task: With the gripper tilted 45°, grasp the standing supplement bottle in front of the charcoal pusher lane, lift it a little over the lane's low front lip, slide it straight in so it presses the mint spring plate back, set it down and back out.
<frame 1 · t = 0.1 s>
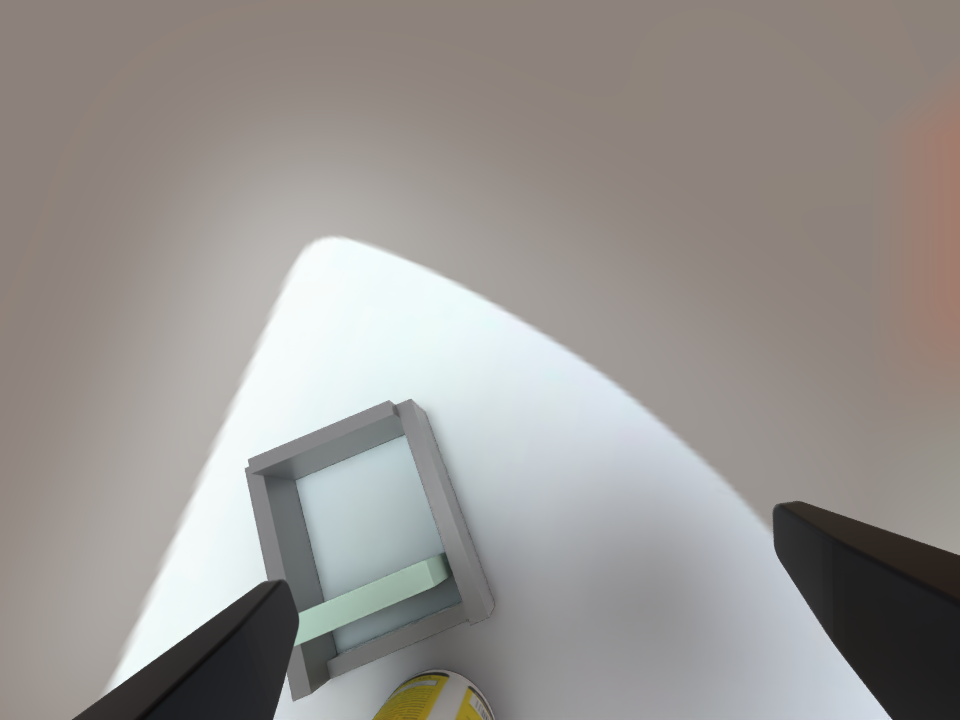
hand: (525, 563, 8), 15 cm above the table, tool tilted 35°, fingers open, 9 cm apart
pusher lane: (378, 534, 23), on the table
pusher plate: (374, 595, 20), point 3 cm above the table, slide at 0.0 cm
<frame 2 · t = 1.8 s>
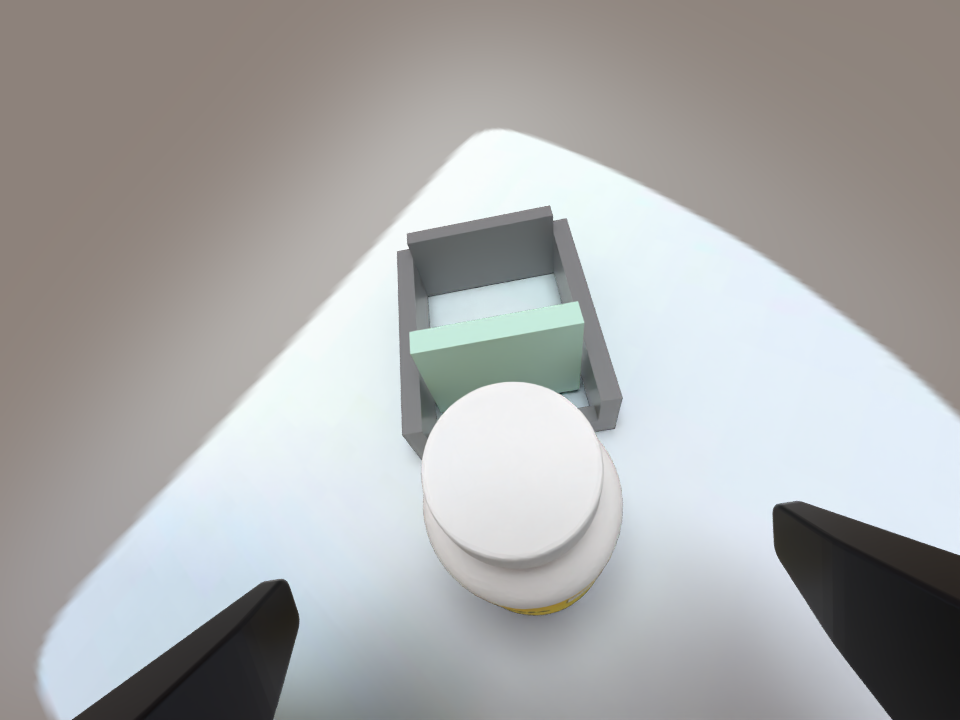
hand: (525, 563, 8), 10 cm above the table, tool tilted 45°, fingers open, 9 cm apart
pusher lane: (501, 350, 23), on the table
supplement bottle: (532, 540, 18), on the table
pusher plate: (501, 363, 19), point 3 cm above the table, slide at 0.0 cm
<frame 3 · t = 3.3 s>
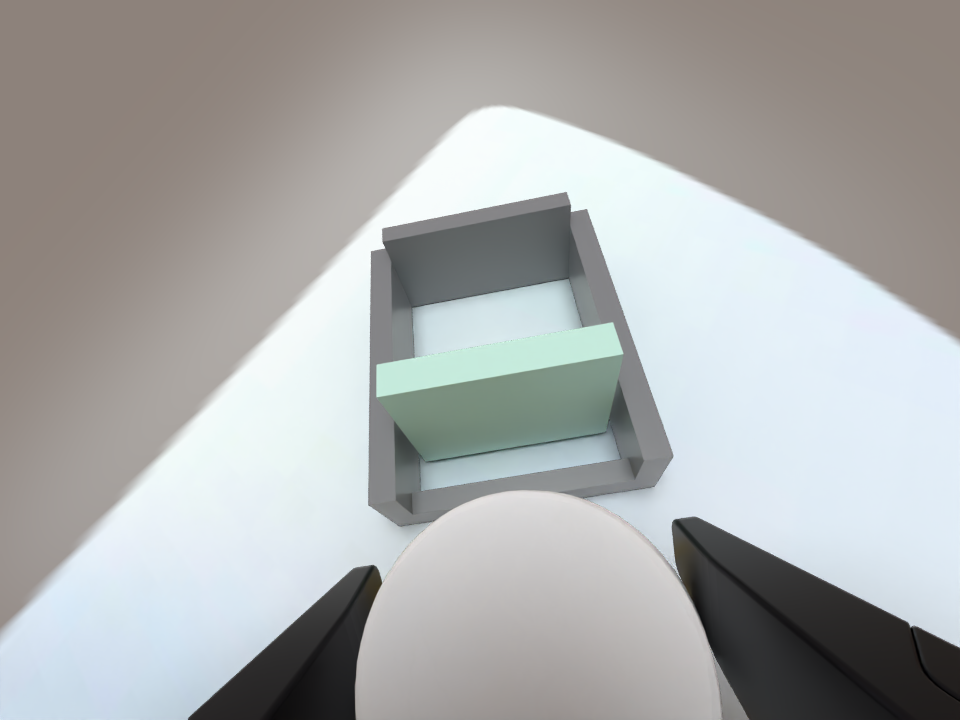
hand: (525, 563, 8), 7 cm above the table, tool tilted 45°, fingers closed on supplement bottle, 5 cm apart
pusher lane: (503, 377, 18), on the table
supplement bottle: (547, 646, 14), on the table, touching gripper
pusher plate: (505, 402, 14), point 3 cm above the table, slide at 0.0 cm
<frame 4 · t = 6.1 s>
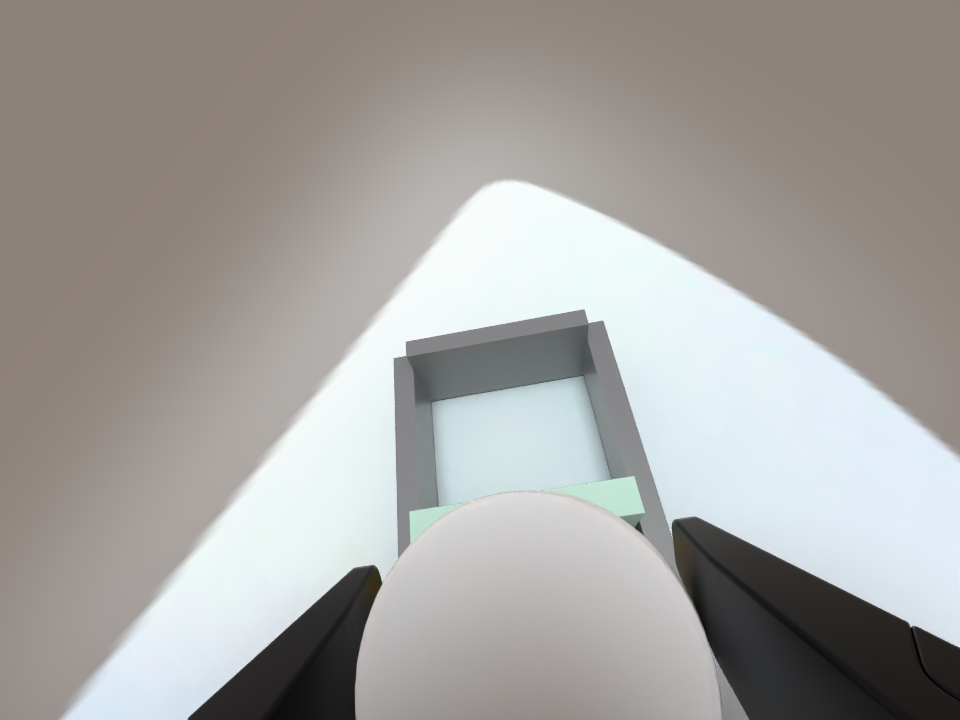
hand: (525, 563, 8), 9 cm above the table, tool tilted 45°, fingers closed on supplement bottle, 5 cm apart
pusher lane: (522, 481, 19), on the table
supplement bottle: (547, 646, 14), point 3 cm above the table, touching gripper, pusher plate
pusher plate: (528, 530, 15), point 3 cm above the table, slide at 0.1 cm, touching supplement bottle
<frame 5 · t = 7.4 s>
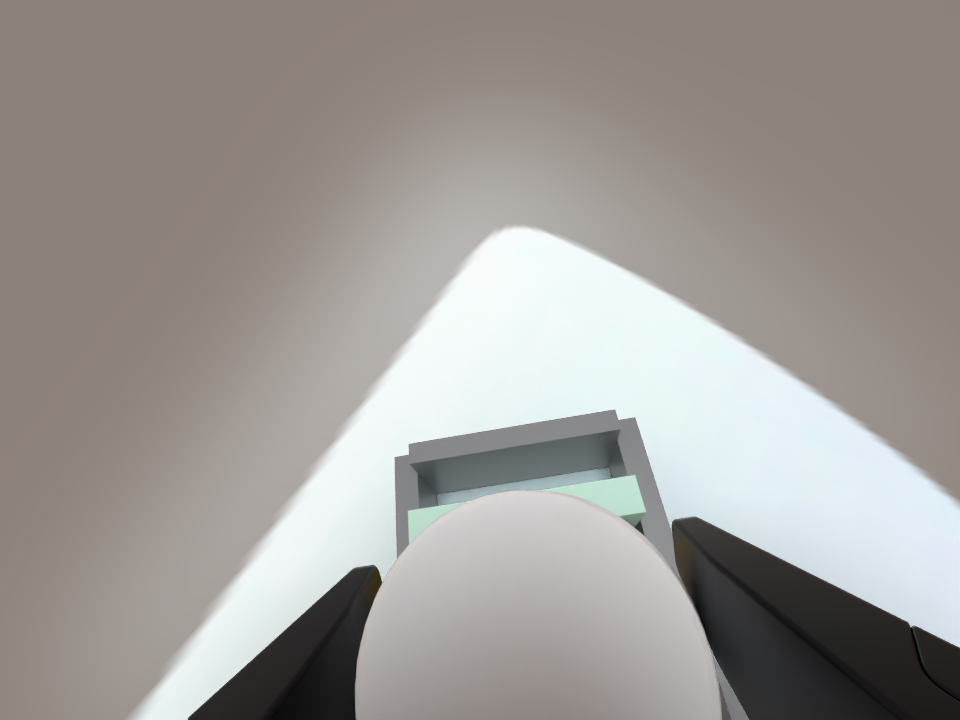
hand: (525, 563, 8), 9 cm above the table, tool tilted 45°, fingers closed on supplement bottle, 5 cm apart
pusher lane: (541, 600, 16), on the table
supplement bottle: (547, 646, 14), point 2 cm above the table, touching gripper, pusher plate
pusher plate: (527, 529, 15), point 3 cm above the table, slide at 4.4 cm, touching supplement bottle
when the fingers open (8 cm above the table, at t = 8.7 s): supplement bottle stays where it is, resting in pusher lane.
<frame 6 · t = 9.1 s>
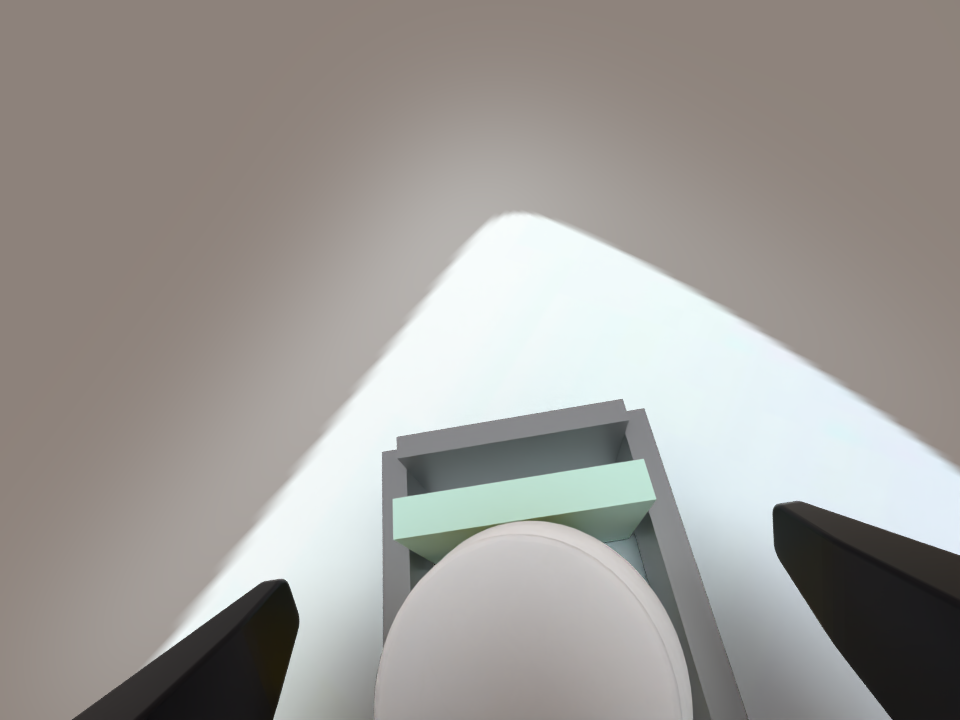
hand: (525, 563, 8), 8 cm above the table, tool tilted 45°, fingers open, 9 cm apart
pusher lane: (542, 608, 15), on the table
supplement bottle: (548, 654, 14), resting in pusher lane
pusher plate: (525, 521, 14), point 3 cm above the table, slide at 4.7 cm
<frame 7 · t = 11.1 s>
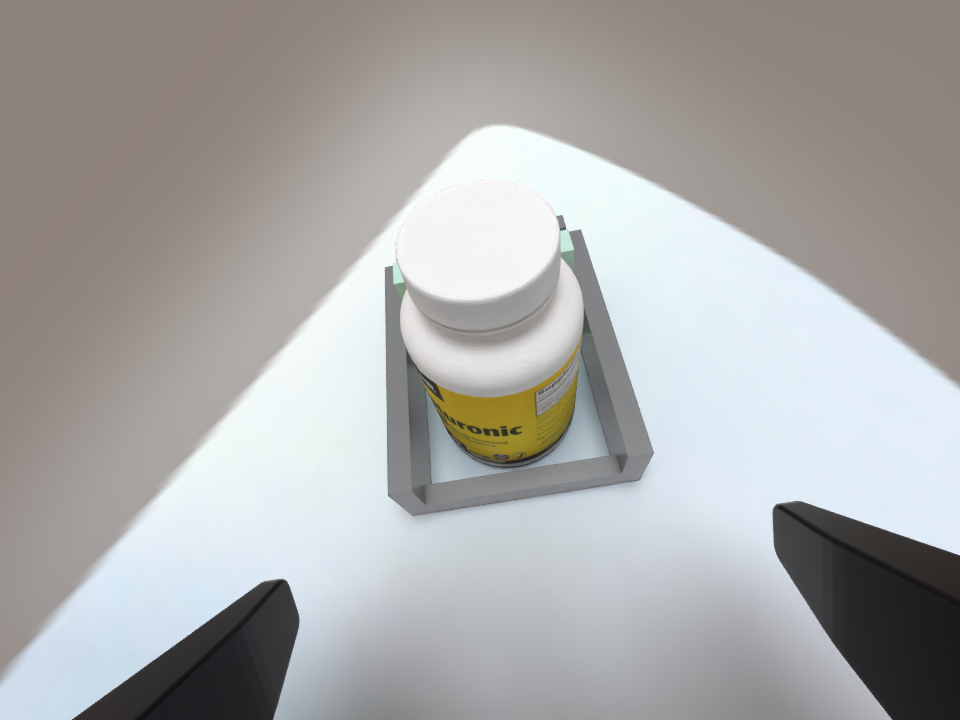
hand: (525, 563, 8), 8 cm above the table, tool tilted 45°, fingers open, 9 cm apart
pusher lane: (505, 381, 20), on the table
supplement bottle: (508, 410, 19), resting in pusher lane
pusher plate: (490, 301, 19), point 3 cm above the table, slide at 4.7 cm
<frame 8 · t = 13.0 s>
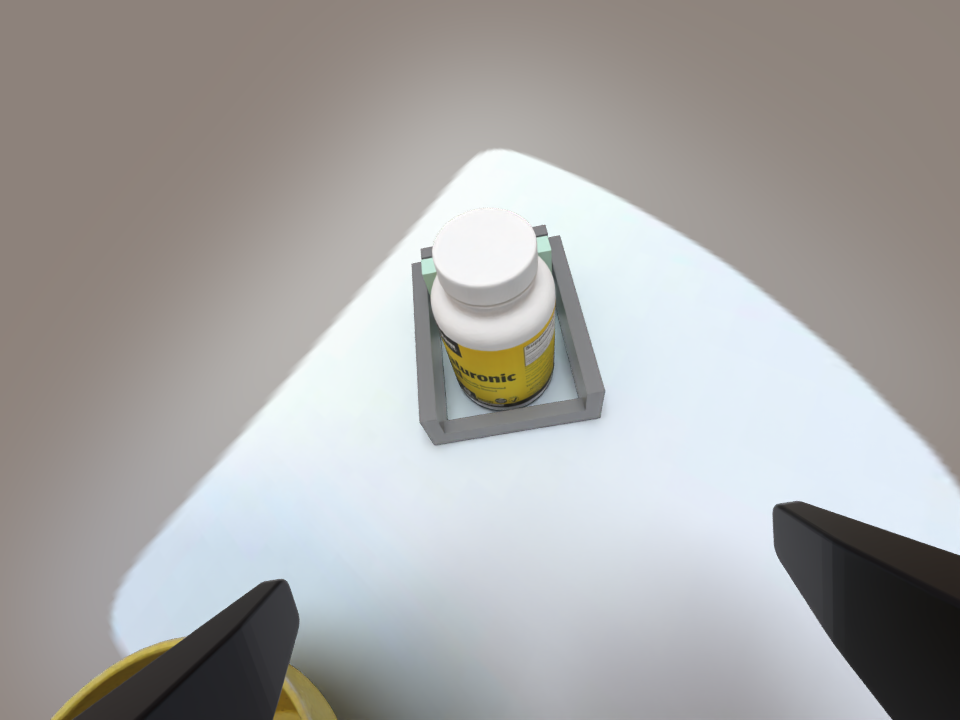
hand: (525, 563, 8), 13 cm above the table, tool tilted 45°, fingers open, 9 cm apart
pusher lane: (502, 350, 26), on the table
supplement bottle: (505, 370, 26), resting in pusher lane
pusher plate: (491, 288, 25), point 3 cm above the table, slide at 4.7 cm
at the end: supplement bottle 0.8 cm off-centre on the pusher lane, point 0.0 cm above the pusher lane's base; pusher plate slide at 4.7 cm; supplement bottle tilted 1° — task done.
